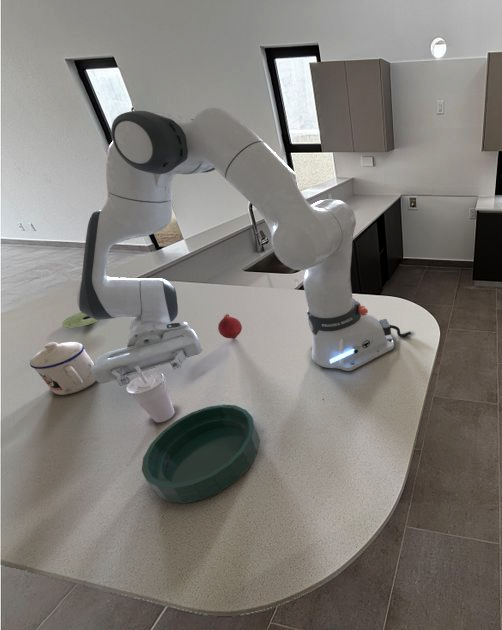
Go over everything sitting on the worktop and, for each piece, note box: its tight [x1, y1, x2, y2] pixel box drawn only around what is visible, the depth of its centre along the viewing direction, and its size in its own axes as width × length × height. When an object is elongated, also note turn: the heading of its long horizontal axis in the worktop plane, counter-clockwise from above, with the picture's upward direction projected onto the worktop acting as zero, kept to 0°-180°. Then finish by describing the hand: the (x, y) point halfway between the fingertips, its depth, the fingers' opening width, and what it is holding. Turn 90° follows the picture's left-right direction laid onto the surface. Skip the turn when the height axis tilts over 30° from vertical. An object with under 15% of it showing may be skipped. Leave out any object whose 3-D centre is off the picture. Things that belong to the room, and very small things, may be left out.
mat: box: [61, 311, 100, 329], centre depth 103 cm, size 11×11×2 cm
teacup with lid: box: [29, 341, 97, 396], centre depth 77 cm, size 12×9×12 cm
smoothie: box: [125, 366, 175, 423], centre depth 68 cm, size 6×6×14 cm
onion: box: [217, 313, 243, 340], centre depth 94 cm, size 6×6×8 cm
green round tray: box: [141, 404, 261, 504], centre depth 62 cm, size 18×18×5 cm
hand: (150, 374), depth 72 cm, fingers open, 8 cm apart
